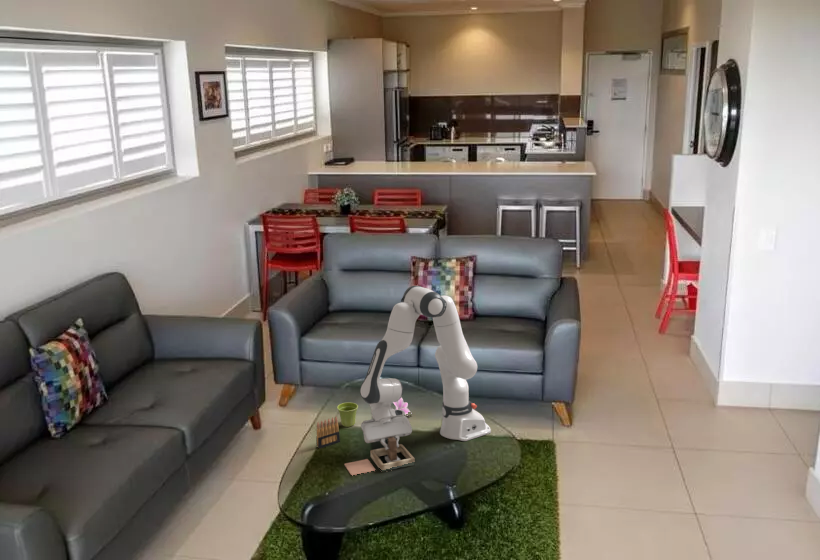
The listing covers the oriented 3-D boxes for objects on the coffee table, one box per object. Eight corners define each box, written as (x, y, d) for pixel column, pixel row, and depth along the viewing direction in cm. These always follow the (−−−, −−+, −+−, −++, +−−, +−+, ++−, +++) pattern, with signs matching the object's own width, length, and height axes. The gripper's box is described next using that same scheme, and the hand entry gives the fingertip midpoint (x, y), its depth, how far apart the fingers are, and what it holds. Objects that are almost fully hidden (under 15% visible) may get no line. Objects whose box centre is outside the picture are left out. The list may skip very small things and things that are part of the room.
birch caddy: (402, 450, 313) (401, 443, 313) (414, 465, 301) (414, 458, 300) (370, 456, 308) (370, 450, 308) (382, 472, 296) (381, 465, 295)
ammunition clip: (318, 449, 316) (317, 423, 313) (316, 447, 318) (314, 421, 315) (340, 442, 322) (339, 416, 319) (338, 440, 324) (336, 415, 321)
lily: (390, 426, 339) (400, 410, 335) (379, 408, 347) (388, 393, 343) (410, 426, 346) (420, 411, 343) (399, 409, 354) (408, 394, 351)
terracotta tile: (367, 460, 306) (367, 458, 306) (375, 471, 297) (375, 469, 297) (344, 464, 302) (344, 463, 302) (351, 476, 293) (351, 474, 293)
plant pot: (357, 428, 335) (357, 410, 332) (336, 428, 335) (336, 410, 333) (359, 419, 344) (358, 402, 342) (339, 419, 344) (338, 402, 342)
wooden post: (396, 456, 308) (395, 435, 305) (400, 461, 303) (400, 440, 301) (384, 459, 306) (384, 437, 304) (389, 464, 301) (388, 443, 299)
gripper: (361, 418, 303) (369, 450, 297) (407, 409, 310) (417, 441, 304) (358, 424, 308) (366, 456, 302) (404, 415, 316) (413, 446, 309)
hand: (392, 448), depth 303 cm, fingers closed on wooden post, 2 cm apart
